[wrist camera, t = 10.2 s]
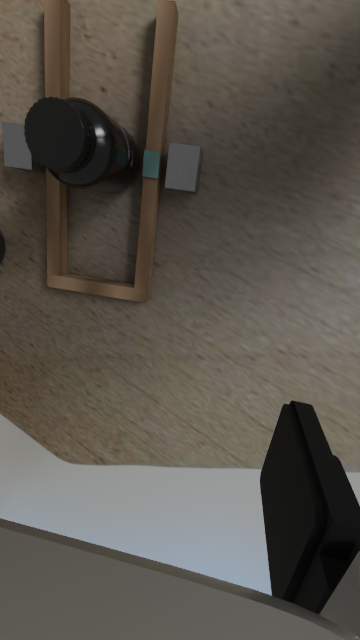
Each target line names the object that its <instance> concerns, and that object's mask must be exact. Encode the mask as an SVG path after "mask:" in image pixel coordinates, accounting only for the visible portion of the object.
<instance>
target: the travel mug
mask: <svg viewBox="0 0 360 640" xmlns="http://www.w3.org/2000/svg"><path fill="white" fill-rule="evenodd" d="M4 255H5V242H4V238H3V236H2V233H1V231H0V263H1V262H2V260H3V258H4Z"/></svg>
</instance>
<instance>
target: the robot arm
mask: <svg viewBox="0 0 360 640" xmlns="http://www.w3.org/2000/svg"><path fill="white" fill-rule="evenodd" d="M260 486H261V495H262V505H263V515H264V524H265V534H266V543H267V552H268V562H269V571H270V580H271V590H272V596H270V595H268V594H265V593H262V592H259V591H256V590H253V589H250V588H246V587H243V586H240V585H236V584H233V583H229V582H226V581H222V580H219V579H216V578H213V577H209V576H206V575H203V574H199V573H196V572H192V571H189V570H186V569H182V568H178V567H175V566H171V565H168V564H164V563H160V562H157V561H153V560H150V559H146V558H143V557H139V556H135V555H131V554H128V553H124V552H121V551H117V550H113V549H110V548H107V547H103V546H99V545H96V544H92V543H88V542H85V541H81V540H78V539H74V538H70V537H67V536H63V535H59V534H56V533H51V532H48V531H45V530H41V529H37V528H33V527H30V526H26V525H22V524H19V523H15V522H11V521H7V520H4V519H0V640H360V506H359V504H358V501H357V499H356V497H355V494H354V492H353V490H352V487H351V485H350V483H349V481H348V478H347V476H346V473H345V471H344V469H343V466H342V464H341V462H340V460H339V459H338V457H336V456H334V455H333V454H332V452H331V450H330V447H329V445H328V442H327V440H326V437H325V435H324V433H323V430H322V428H321V425H320V423H319V420H318V418H317V416H316V413H315V411H314V408H313V406H312V405H310V404H306V403H301V402H297V401H291V402H290V404H289V405H288V404H284V405H283V407H282V410H281V413H280V416H279V419H278V422H277V425H276V428H275V431H274V434H273V437H272V440H271V443H270V446H269V449H268V452H267V455H266V458H265V461H264V465H263V468H262V471H261V477H260Z"/></svg>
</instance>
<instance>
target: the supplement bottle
mask: <svg viewBox="0 0 360 640" xmlns="http://www.w3.org/2000/svg"><path fill="white" fill-rule="evenodd" d="M24 130H25V132H24V136H25V142H26V143H27V146H28V149H29V150H30V152H31V154H32V155H33V156H34V158H35V160H37V161H39V163H40V164H41V165H44V166H45V167H46V168H47V170H48V171H49V172H50V173H51V175H52V176H53V177H54V178H56V179H57V180H58V181H59V182H61V183H63V184H65V185H67V186H70V187H73V188H77V189H83V190H88V191H94V192H99V193H105V194H115V193H119V192H122V191H124V190H125V189H127V188H128V187H129V186H130V185H131V184H132V183H133V181H134V180H135V178H136V176H137V173H138V170H139V164H140V157H139V151H138V148H137V145H136V143H135V141H134V139H133V138H132V136H131V135H130V134H129V133H128V132H127V131H126V130H125V129H124V128H123V127H122V126H120V125H119V124H118V123H117V122H116V121H114V120H113V119H112V118H111V117H110V116H108V115H107V114H106V113H105V112H104V111H103V110H101V109H100V108H99V107H98V106H96V105H95V104H93V103H91V102H90V101H87V100H85V99H81V98H66V99H60V98H58V97H55V98H54V97H49V98H46V97H44V98H43V99H40V100H38V102H36V103H34V104H33V107H31V108H30V110H29V112H28V113H27V117H26V119H25V125H24Z"/></svg>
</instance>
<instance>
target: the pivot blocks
mask: <svg viewBox="0 0 360 640" xmlns="http://www.w3.org/2000/svg"><path fill="white" fill-rule="evenodd" d="M2 128H3V148H4V166H7V167H12V168H17V169H22V170H30V171H37V172H44V173H46V167H45V166H44V165H41V164H40V163H39V161H37V160H35V158H34V156H33V155H32V154H31V152H30V150H29V149H28V146H27V143H26V142H25V136H24V132H25V130H24V125H22V124H14V123H6V122H2ZM202 154H203V151H202V148H201V146H195V145H187V144H179V143H170V142H169V152H168V161H167V171H166V180H165V188H167V189H171V190H178V191H186V192H193V193H197V191H198V184H199V176H200V169H201V162H202Z"/></svg>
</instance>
